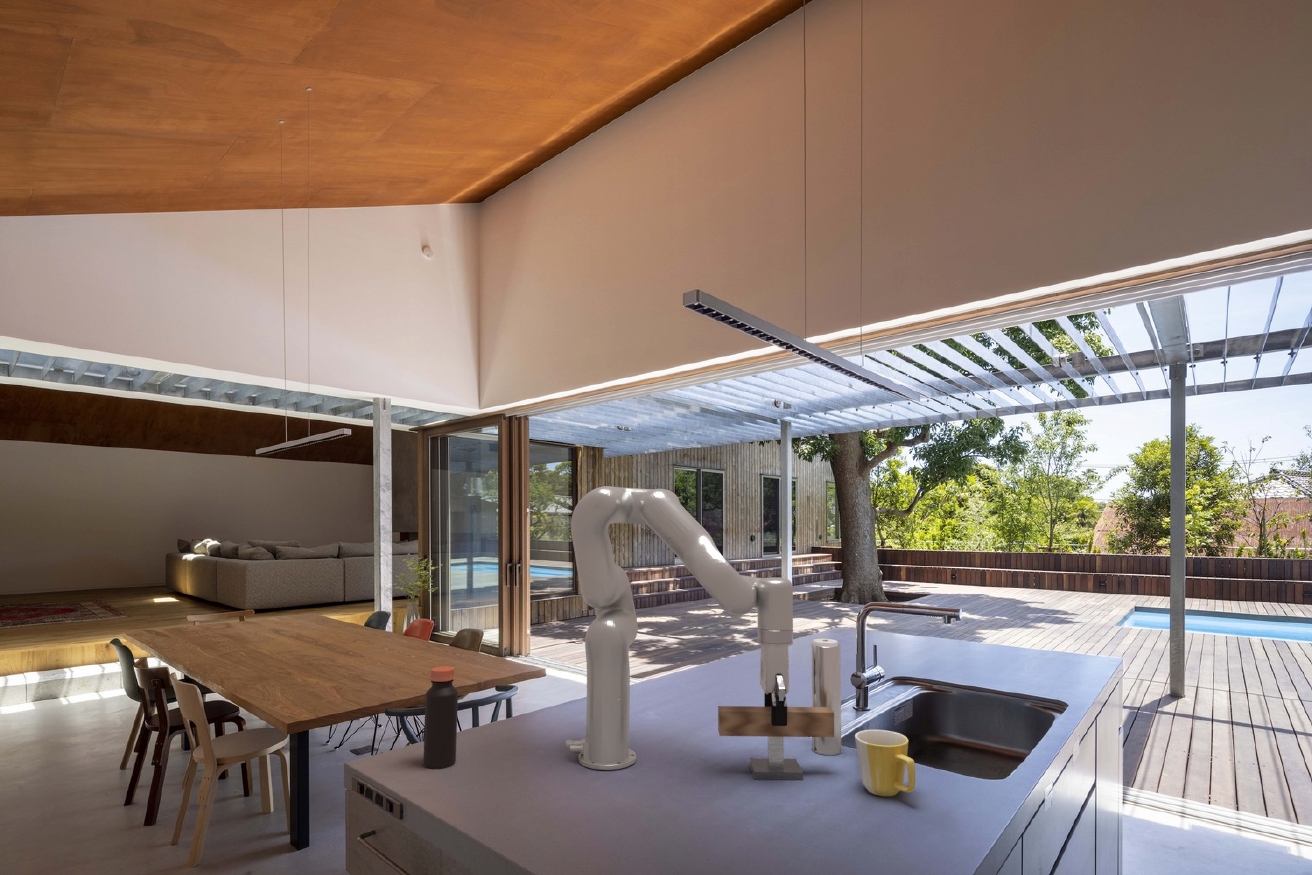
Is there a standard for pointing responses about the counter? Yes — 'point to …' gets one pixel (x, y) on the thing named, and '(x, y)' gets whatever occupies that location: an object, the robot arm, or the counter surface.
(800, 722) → the walnut beam
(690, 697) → the counter surface
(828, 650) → the silver metal cylinder
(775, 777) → the ridge
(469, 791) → the counter surface
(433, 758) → the bottle
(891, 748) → the mug
